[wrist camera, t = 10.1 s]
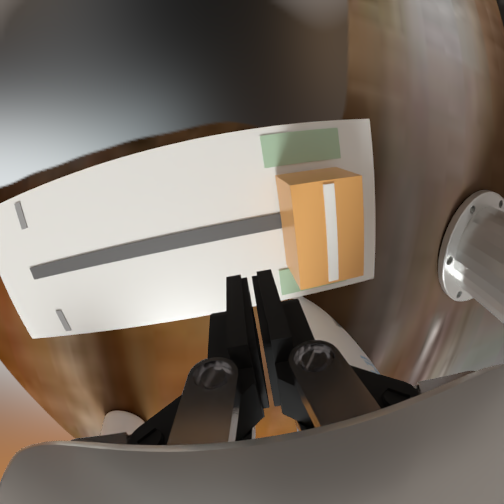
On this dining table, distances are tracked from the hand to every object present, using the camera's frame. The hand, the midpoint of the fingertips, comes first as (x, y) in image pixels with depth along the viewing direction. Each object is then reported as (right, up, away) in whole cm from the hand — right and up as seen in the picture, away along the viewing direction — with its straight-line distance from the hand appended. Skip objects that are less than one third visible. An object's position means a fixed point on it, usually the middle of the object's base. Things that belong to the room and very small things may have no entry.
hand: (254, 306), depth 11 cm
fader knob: (+4, +4, +8) cm, 9 cm away
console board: (-6, +3, +9) cm, 12 cm away
